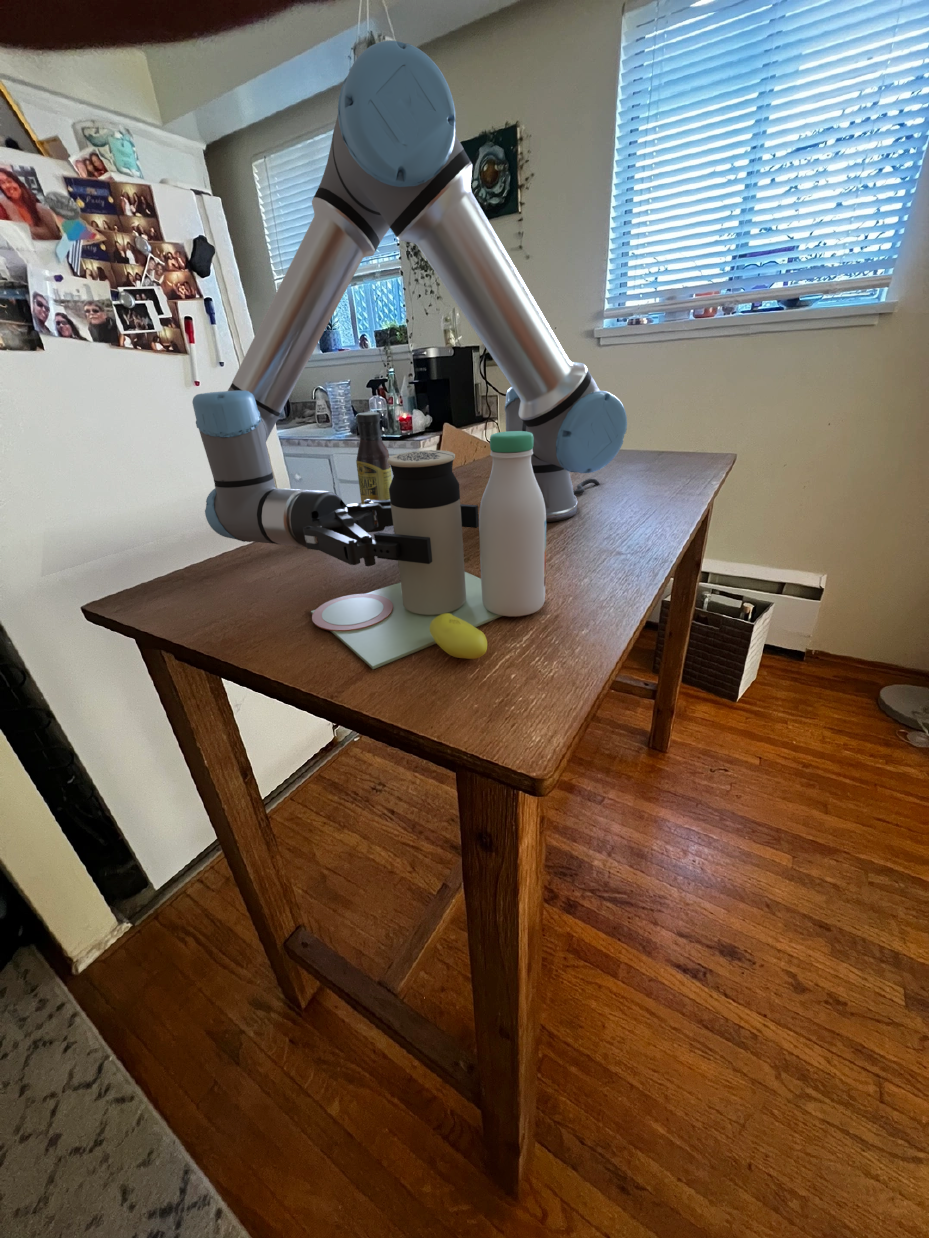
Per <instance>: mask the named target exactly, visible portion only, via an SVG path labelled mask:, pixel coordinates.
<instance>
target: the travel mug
mask: <svg viewBox="0 0 929 1238" xmlns="http://www.w3.org/2000/svg"><path fill="white" fill-rule="evenodd" d="M455 459H456V454H455V453H454V452H452V451H449V450H442V449H427V450H415V451H407V452H401V453H397V454H393V455H391V456H389V458H388V460H387V462H388V464H390V467H391V474H392V481H391V484H390V487H389V495H390V503H391V511H392V519H393V526H392V527H393V532H394V533H393V534H400V535H410V536H421V537H430V541H431V552H432V562H431V563H430V564H424V563H416V562H407V561H399V560H397V566H398V573H399V580H400V581H399V582H401V589H402V597H403V605H404V607H405V608H406V609H407V610H409V611H411V612H414V613H418V614H421V615H439V614H444V613H448V612H451V611H454V610H456V609H458V608H459V607H461V606H462V605H463V604H464V603H465V602H466V586H465V572H466V571H465V557H464V556H465V555H464V541H463V527H462V522H461V506H460V504H461V492H460V489H461V488H460V482H459V480H458V479H457V477H456V476H455V474H454V472H453V468H454V467H453V466H454V460H455Z"/></svg>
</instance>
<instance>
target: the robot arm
mask: <svg viewBox="0 0 929 1238" xmlns="http://www.w3.org/2000/svg"><path fill="white" fill-rule="evenodd" d="M335 120H336V121H335V125H334V127H333V131H332V136H331V141H330V147H329V151H328V157H327V162H326V165H325V168H324V172H323V175H322V177H321V180H320V183H319V185H318V187H317V189H316V192H315V194H314V195H313V198H312V200H311V206H312V209H313V213H314V214H313V218H312V219H311V222H310V223H309V225H308V228H307V229H306V232H305V234H304V235H303V238H302V240H301V242H300V244H299V246H298V248H297V250H296V252H295V254H294V255H293V258H292V260H291V262H290V264H289V266H288V268H287V270H286V272H285V274H284V276H283V279H282V280H281V283H280V284H279V287H278V289H277V290H276V292H275V294H274V296H273V298H272V301H271V303H270V304H269V307H268V309H267V311H266V313H265V315H264V317H263V319H262V321H261V323H260V325H259V327H258V329H257V331H256V333H255V335H254V337H253V339H252V341H251V343H250V345H249V348H248V349H247V351H246V352H245V356H244V358H243V360H242V361H241V364H240V366H239V367H238V370H236V373H235V375H234V377H233V379H232V382H231V383H230V386H229V388H228V389H227V390H226V391H225V390H223V391H212V392H203V393H197V394H196V395H194V396H193V397H192V407H193V412H194V416H195V425H196V428H197V429H198V432H199V435H200V439H201V441H202V445H203V448H204V451H205V455H206V459H207V462H208V464H209V468H210V471H211V475H212V478H213V483H214V489H212V490H211V491H210V492H209V493H208V495H207V497H206V499H205V503H206V504H205V509H204V514H205V519H206V521H207V523H208V525H209V526H210V528H211V529H212V530H213V531H214V532H215V533H216V534H218V535H219V536H221V537H224V538H226V539H232V540H237V541H240V542H243V543H246V542H247V543H261V544H274V545H278V546H279V545H280V546H281V545H282V546H290V547H293V548H294V549H295V550H300V549H301V548H306V549H308V550H314V551H319V552H321V553H324V554H326V555H329V556H331V557H333V558H335V559H337V560H339V561H342V562H344V563H346V564H347V565H349V566H350V565H351V566H357V565H360V564H361V559H363V560H364V561H363V563H364V566H365V567H373V566H375V565H376V559H382V560H389V561H390V560H392V561H398V560H399V561H407V562H416V563H424V564H430V563H431V562H432V552H431V541H430V537H421V536H410V535H400V534H394V533H389V532H383V531H384V530H385V528H386V527H394V526H393V519H392V511H391V503H390V500H370V499H367V500H365V501H364V502H365V504H364V505H362V504H360V503H358V502H356V503H349V504H346V503H345V502H344V501H343V499H342V498H341V497H340V496H339V495H338V494H337V493H335V492H333V491H328V490H316V489H315V490H313V489H309V490H308V489H301V488H300V489H298V488H279V487H278V488H277V486H276V482H275V478H274V473H273V470H272V466H271V461H270V456H269V452H268V446H267V441H268V439H269V437H270V436H271V433H272V432H273V429H274V427H275V425H276V424H277V422H278V420H279V418H280V415H281V414H282V411H283V409H284V408H285V406H286V404H287V402H288V399H289V398H290V396H291V394H292V392H293V391H294V389H295V387H296V385H297V383H298V381H299V379H300V377H301V376H302V374H303V372H304V370H305V369H306V366H307V364H308V362H309V361H310V358H311V357H312V355H313V353H314V351H315V349H316V347H317V346H318V343H319V342H320V339H321V338H322V336H323V334H324V332H325V330H326V328H327V326H328V325H329V323H330V321H331V319H332V318H333V315H334V314H335V311H336V310H337V308H338V306H339V304H340V302H341V300H342V299H343V296H344V295H345V293H346V291H347V289H348V287H349V285H350V283H351V282H352V280H353V278H354V277H355V274H356V272H357V271H358V268H359V267H360V264H361V263H362V262H363V261H362V260H363V259H364V258H369V257H373V256H374V255H375V253H376V251H377V249H378V248H379V245H380V244H381V242H382V240H383V239H384V237H385V236H386V234H388V232H389V230H391V231H392V233H393V234H394V236H395V237H396V239H397V240H398V241H401V242H407V243H411V244H414V245H416V246H417V248H418V249H419V250H420V252H421V253H422V254H423V256H424V258H425V259H426V261H427V262H428V264H429V265H430V267H431V268H432V269H433V272H435V274H436V275H437V277H438V278H439V280H440V282H441V283H442V284H443V286H444V287H445V289H446V291H447V292H448V293H449V295H450V296H451V298H452V300H453V301H454V302H455V304H456V306H457V307H458V308H459V310H460V311H461V313H462V314H463V316H464V318H465V319H466V320H467V322H468V323H469V325H470V326H471V328H472V329H473V331H474V332H475V334H476V335H477V337H478V338H479V340H480V341H481V343H482V344H483V346H484V347H485V349H486V350H487V352H488V353H489V355H490V357H491V358H492V359H493V361H494V363H495V364H496V365H497V367H498V368H499V370H500V371H501V372H502V374H503V375H504V377H505V378H506V380H507V381H508V383H509V385H510V387H509V388H508V389H507V391H506V393H505V405H504V413H505V432H508V431H526V432H530V433H532V434H533V440H534V443H533V454H532V455H531V464H532V469H533V472H534V476H535V478H536V481H537V483H538V485H539V488H540V490H541V492H542V495H543V498H544V502H545V509H546V523H553V522H558V521H563V520H566V519H569V518H571V517H573V516H575V515H576V514H577V512H578V499H577V496H576V495H580V494H583V493H584V492H585V490H586V489H585V486H587V485H589V484H594V485H595V486H600V484H601V483H600V482H599V480H597V479H595V478H587V479H584V480H583V481H581V482H580V483H579V484H577V485H576V489H575V490H574V487H573V482H572V478H571V477H572V476H571V473H575V474H576V473H578V474H591V473H596V472H598V471H600V470H601V469H603V468H605V467H606V466H607V465H608V464H610V463H611V462H612V461H613V459H615V457H616V456H617V455H618V453H619V452H620V450H621V448H622V446H623V444H624V438H625V435H626V433H627V428H628V417H627V416H628V415H627V412H626V409H625V407H624V404H623V403H622V401H621V400H620V399H619V398H618V397H617V396H616V395H614V394H612V393H611V392H609V391H606V390H600V388H599V387H598V385H597V383H596V381H595V379H594V378H593V376H592V374H591V372H590V370H589V368H588V367H587V366H586V364H585V363H583V362H578V361H572V360H570V359H569V357H568V355H567V353H566V352H565V350H564V349H563V347H562V345H561V343H560V342H559V340H558V338H557V336H556V335H555V333H554V331H553V330H552V328H551V326H550V324H549V323H548V321H547V319H546V318H545V316H544V314H543V312H542V311H541V309H540V307H539V306H538V304H537V302H536V300H535V299H534V296H533V295H532V294H531V291H530V290H529V288H528V287H527V285H526V283H525V281H524V279H523V277H522V276H521V274H520V273H519V271H518V269H517V267H516V266H515V264H514V262H513V261H512V258H511V257H510V256H509V254H508V252H507V250H506V248H505V246H504V245H503V244H502V242H501V240H500V238H499V236H498V235H497V233H496V231H495V230H494V228H493V226H492V224H491V223H490V221H489V219H488V217H487V216H486V214H485V212H484V211H483V209H482V206H481V205H480V204H479V202H478V200H477V199H476V197H475V195H474V193H473V191H472V188H471V185H472V184H471V183H472V170H473V163H472V161H471V159H470V158H469V156H468V154H467V152H466V151H465V149H464V147H463V145H462V143H461V142H460V140H459V138H458V136H457V134H456V128H457V123H456V122H457V121H456V109H455V102H454V98H453V95H452V92H451V89H450V86H449V84H448V82H447V79H446V77H445V76H444V74H443V72H442V71H441V70H440V68H439V66H438V65H437V64H436V62H435V61H434V60H433V59H432V58H431V57H430V56H429V55H428V54H427V53H426V52H424V51H423V50H421V49H420V48H418V47H416V46H414V45H412V44H411V43H405V42H402V41H397V40H394V39H393V40H390V39H389V40H383V41H379V42H377V43H376V42H375V43H374V44H372V45H370V46H368V47H367V48H366V49H365V50H363V51H362V52H361V53H360V54H359V55H358V56H357V58H356V59H355V60H354V62H353V63H352V65H351V67H350V69H349V72H348V74H347V76H346V77H345V78H344V81H343V83H342V86H341V88H340V92H339V95H338V101H337V115H336V119H335ZM460 506H461V522H462V528H470V529H478V528H479V505H478V504H463V503H460ZM374 520H377V521H378V524H377V525H375V523H374ZM370 533H373V536H372V535H371V534H370ZM373 537H374V539H373Z"/></svg>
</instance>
